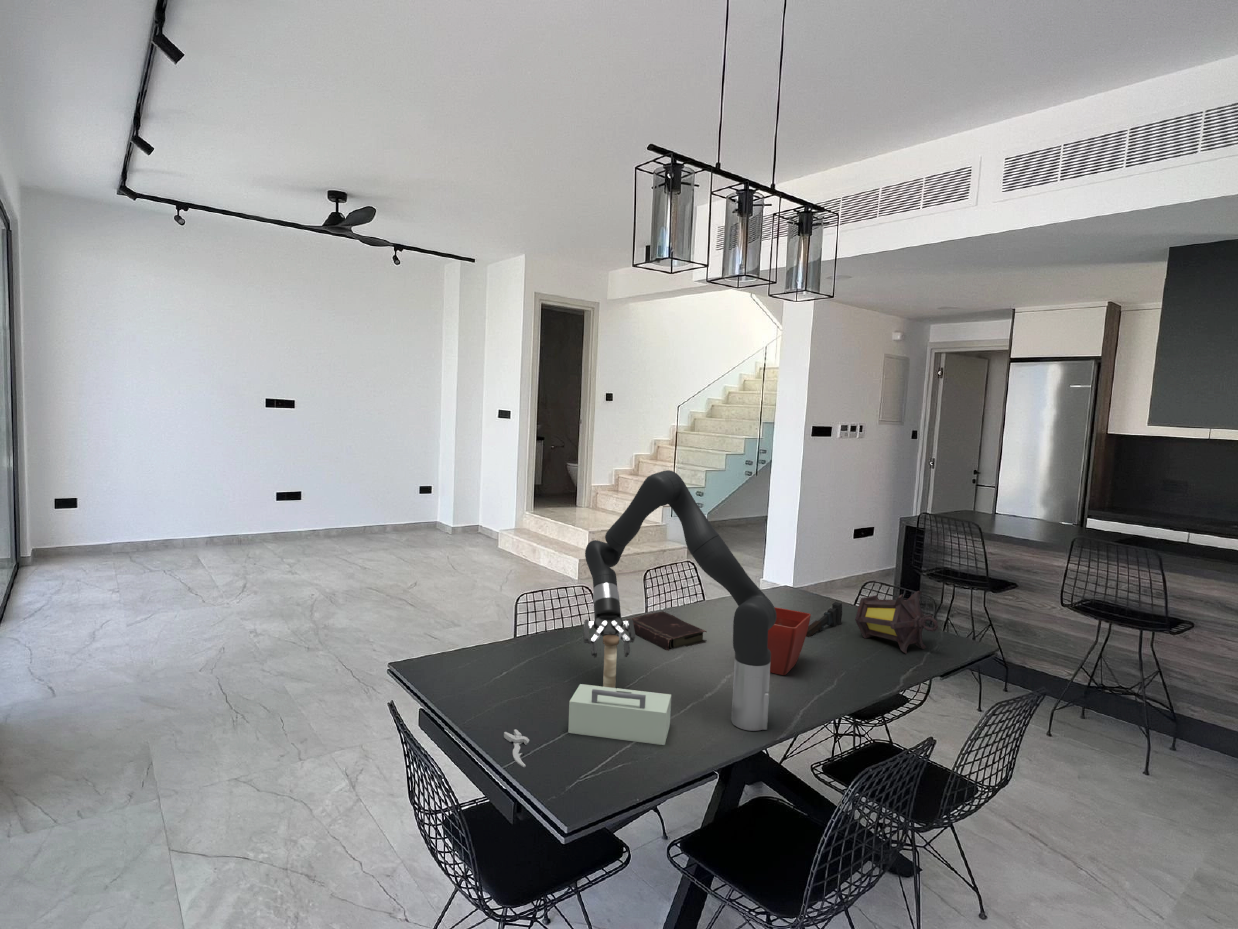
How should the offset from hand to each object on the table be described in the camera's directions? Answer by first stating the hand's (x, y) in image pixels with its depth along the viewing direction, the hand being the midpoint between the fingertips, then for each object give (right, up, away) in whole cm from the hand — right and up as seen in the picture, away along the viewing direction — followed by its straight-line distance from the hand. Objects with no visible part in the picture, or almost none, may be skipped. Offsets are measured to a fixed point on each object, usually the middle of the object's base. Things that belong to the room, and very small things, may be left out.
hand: (611, 656), depth 188 cm
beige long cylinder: (-1, -14, +2) cm, 14 cm away
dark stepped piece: (+79, -11, +75) cm, 110 cm away
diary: (+19, -10, +62) cm, 65 cm away
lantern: (+102, -13, +61) cm, 120 cm away
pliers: (-20, -16, -23) cm, 35 cm away
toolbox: (+2, -16, -13) cm, 21 cm away
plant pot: (+52, -13, +36) cm, 64 cm away
